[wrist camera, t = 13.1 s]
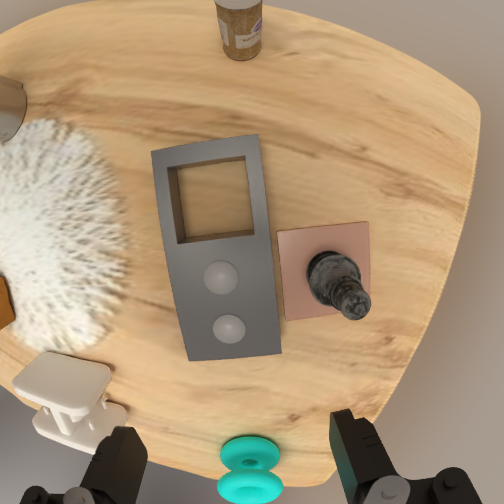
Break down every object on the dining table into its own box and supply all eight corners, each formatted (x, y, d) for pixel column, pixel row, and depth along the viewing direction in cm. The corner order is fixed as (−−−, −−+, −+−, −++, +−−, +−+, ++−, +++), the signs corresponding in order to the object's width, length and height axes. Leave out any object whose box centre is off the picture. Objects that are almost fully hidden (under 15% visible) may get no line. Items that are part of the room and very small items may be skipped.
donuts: (277, 507, 33) (215, 505, 32) (274, 466, 42) (220, 462, 42) (289, 480, 30) (217, 477, 30) (283, 434, 40) (222, 430, 40)
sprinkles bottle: (256, 64, 29) (259, 1, 16) (218, 58, 29) (202, -5, 16) (264, 35, 28) (270, -31, 15) (228, 30, 28) (217, -37, 15)
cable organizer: (120, 363, 37) (87, 412, 26) (132, 413, 40) (109, 462, 28) (45, 347, 37) (6, 382, 26) (61, 395, 39) (32, 433, 28)
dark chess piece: (346, 242, 33) (391, 269, 21) (354, 287, 34) (396, 331, 22) (298, 255, 33) (322, 290, 21) (309, 301, 34) (334, 353, 23)
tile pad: (276, 231, 33) (277, 231, 33) (366, 221, 33) (368, 222, 32) (285, 318, 36) (285, 321, 35) (367, 306, 35) (369, 308, 35)
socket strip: (162, 155, 31) (150, 151, 27) (257, 140, 31) (258, 133, 27) (194, 344, 36) (188, 362, 32) (278, 337, 36) (281, 354, 32)
